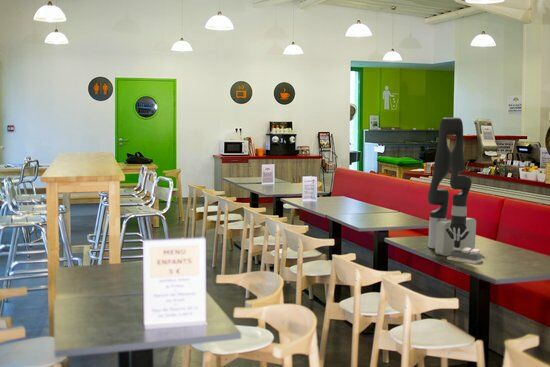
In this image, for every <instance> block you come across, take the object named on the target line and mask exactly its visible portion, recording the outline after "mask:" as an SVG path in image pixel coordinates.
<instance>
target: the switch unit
mask: <svg viewBox="0 0 550 367" xmlns="http://www.w3.org/2000/svg"><path fill="white" fill-rule="evenodd" d="M446 260H449V261H455V262H459V263H460V262H462V263H466V264H472V265H473V264H474V265H477V264H478V263H481V262H483V260H484V259H483V258H482V253H479V252H478V253H477V254H470V252H468V253H464V252H462V251H459V250H454V251H452V252H451V255H448V256H447V257H446Z"/></svg>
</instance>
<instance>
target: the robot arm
mask: <svg viewBox="0 0 550 367" xmlns="http://www.w3.org/2000/svg"><path fill="white" fill-rule="evenodd" d="M438 130H439V131H438V140H437V148H436V152H435V157H434V164H433V171H432V176H431V182H430V185H429V189H428V194H427V203H428V204H429V205H432V206H439V207H438V208H437V209H434V210H431V211H430V212H429V223H428V243H427V247H428V248H430V249H434V250H435V242H436V226H437V223H438V222H439V221H443V220H448V219H447V218H448V210H449V208H448V207H449V200H450V193H449V190H448V189H447V188H439V186H440V183H441V182H442V181H443V180H444V179H445V178H446V176H447V175H448V174H449V173H450V179H449V185H450V187H451V189H453V190H460V192H458V193H455V194H453V196H452V204H451V211H450V212H451V213H450V214H451V216H450V219H451V225H450V227H449V228H447V229H446V231H447V233H448V234H449V236H450V238H451V239H454V246H455V248H459V247H460V243H461V240H464V239H465V238H466V237H467V236H468V235H469V234H470V231H468V230H467V227H466V218H467V213H468V209H467V205H468V203H467V202H468V197H469V193H470V190H471V187H472V179H471V177H470V176H467V175H459V174H460V173H464V172H465V171H466V162H465V154H464V125H463V121H462V119H461V118H460V117H443V118H441V120H440V123H439V128H438ZM448 136H455V143H454V146H453V148H452V149H450V147H449V146H448V143H447V140H448V138H447V137H448ZM451 230H452V231H453V233H452V232H451ZM464 231H465V234H464V235H463V236H462V233H463V232H464ZM461 236H462V237H461Z"/></svg>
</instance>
